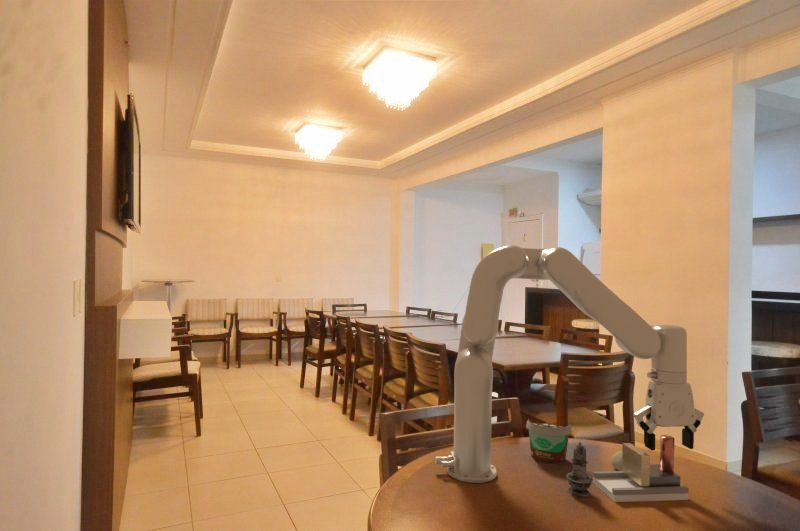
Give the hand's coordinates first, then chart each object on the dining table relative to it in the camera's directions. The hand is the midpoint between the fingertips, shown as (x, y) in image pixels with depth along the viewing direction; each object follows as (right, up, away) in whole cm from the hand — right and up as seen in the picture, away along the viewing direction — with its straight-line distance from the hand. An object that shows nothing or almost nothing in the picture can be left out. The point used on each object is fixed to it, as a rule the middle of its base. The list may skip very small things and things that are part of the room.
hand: (668, 447), depth 117 cm
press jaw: (-4, -8, 0) cm, 9 cm away
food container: (-24, -10, +17) cm, 31 cm away
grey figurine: (-22, -10, -2) cm, 25 cm away
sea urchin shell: (-4, -11, +12) cm, 16 cm away
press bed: (-7, -10, -1) cm, 13 cm away
